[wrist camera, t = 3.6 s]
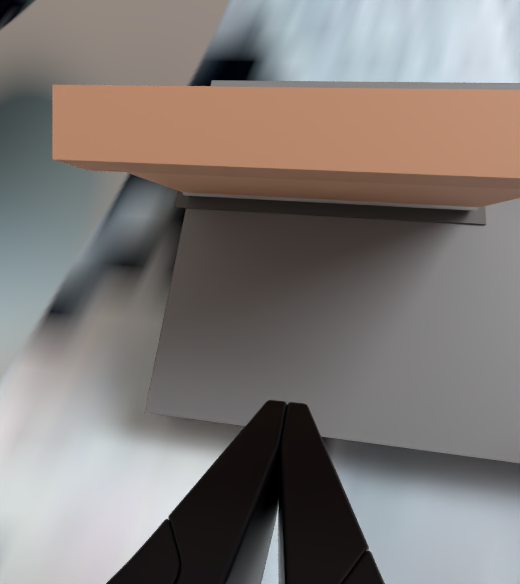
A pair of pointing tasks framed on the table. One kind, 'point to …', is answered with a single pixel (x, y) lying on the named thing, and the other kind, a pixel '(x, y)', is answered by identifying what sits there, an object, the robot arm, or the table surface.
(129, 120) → the tan flat block
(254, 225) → the switch panel
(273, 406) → the robot arm
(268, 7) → the table surface
